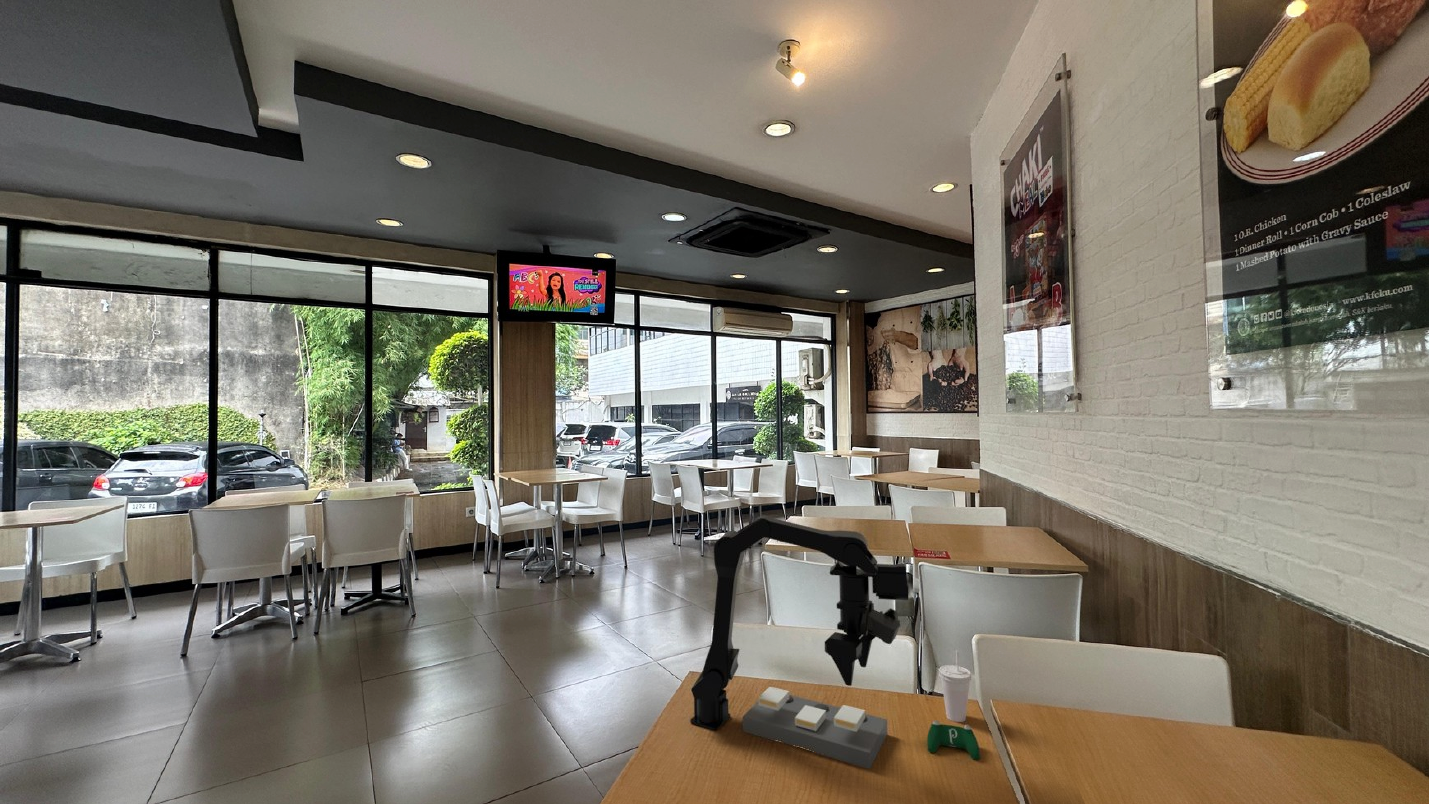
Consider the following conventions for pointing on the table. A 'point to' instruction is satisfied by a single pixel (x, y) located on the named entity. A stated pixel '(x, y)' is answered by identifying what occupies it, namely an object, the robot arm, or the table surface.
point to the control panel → (819, 731)
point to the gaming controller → (952, 738)
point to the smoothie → (955, 690)
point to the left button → (773, 698)
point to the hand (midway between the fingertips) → (856, 675)
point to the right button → (849, 718)
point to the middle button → (810, 718)
